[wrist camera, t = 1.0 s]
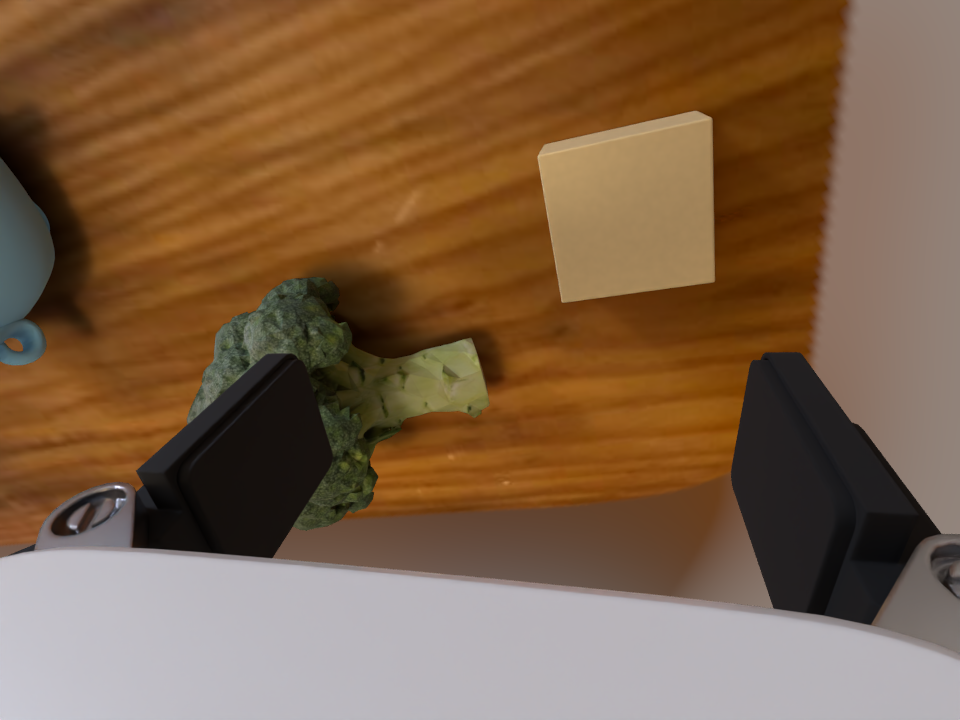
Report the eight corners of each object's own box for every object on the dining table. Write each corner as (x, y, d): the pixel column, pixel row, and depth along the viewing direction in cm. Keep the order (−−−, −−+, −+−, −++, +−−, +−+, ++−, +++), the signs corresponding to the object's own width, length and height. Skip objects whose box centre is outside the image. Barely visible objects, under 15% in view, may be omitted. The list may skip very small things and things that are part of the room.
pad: (697, 109, 22) (712, 117, 19) (701, 258, 25) (715, 282, 22) (543, 144, 23) (536, 155, 21) (564, 278, 26) (561, 303, 24)
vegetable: (491, 496, 32) (238, 553, 29) (450, 314, 36) (223, 347, 33) (541, 464, 21) (136, 553, 18) (473, 207, 25) (133, 239, 22)
